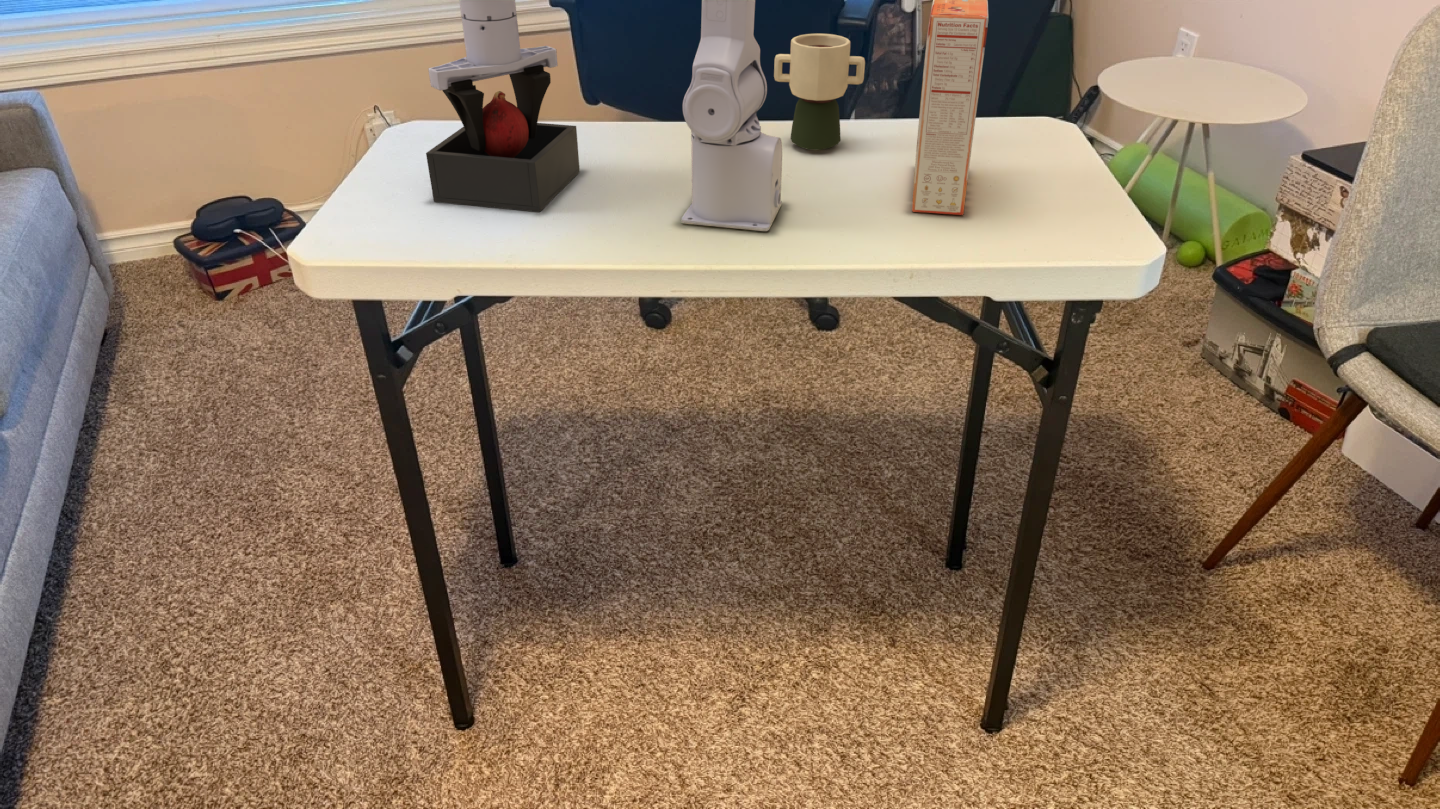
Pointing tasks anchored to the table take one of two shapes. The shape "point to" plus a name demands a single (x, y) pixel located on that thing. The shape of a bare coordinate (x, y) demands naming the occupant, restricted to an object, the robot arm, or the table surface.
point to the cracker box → (949, 104)
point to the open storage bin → (505, 170)
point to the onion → (504, 128)
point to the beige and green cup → (818, 86)
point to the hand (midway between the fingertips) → (504, 142)
